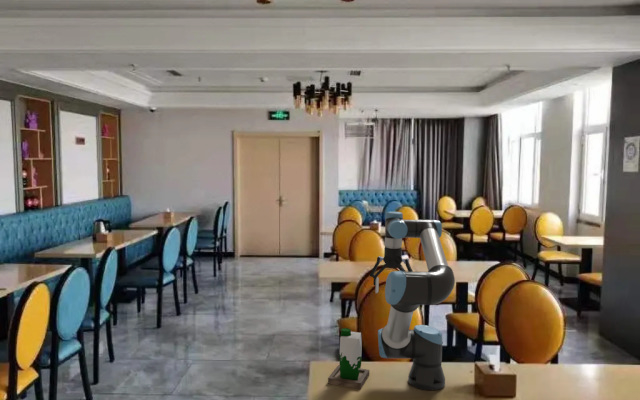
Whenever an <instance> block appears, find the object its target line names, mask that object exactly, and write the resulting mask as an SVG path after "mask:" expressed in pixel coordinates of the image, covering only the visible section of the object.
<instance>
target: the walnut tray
mask: <svg viewBox="0 0 640 400" xmlns="http://www.w3.org/2000/svg"><path fill="white" fill-rule="evenodd" d="M369 376H370V369H367V368H362V367H361V368H360V372H359V376H358V380H348V379H342V378H340V364H338V365H337V366H336V367H335V368H334V370H333V371H332V372H331V374H329V376H328V377H327V384H328V385H333V386H338V387H339V386H340V387H346V388H351V389H357V390H361V389H362V388H363V386H364V385H365V383H366V381H367V380H368V379H369Z"/></svg>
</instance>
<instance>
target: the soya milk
mask: <svg viewBox="0 0 640 400" xmlns="http://www.w3.org/2000/svg"><path fill="white" fill-rule="evenodd" d="M362 341H363V340H362V332H356V331H352V330H351V328H348V327H344V328H341V329H340V339H339V365H340V378H342V379H348V380H358V376H359V372H360V368H361V369H362V351H363V350H362V344H363V343H362Z"/></svg>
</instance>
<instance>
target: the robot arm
mask: <svg viewBox="0 0 640 400" xmlns="http://www.w3.org/2000/svg"><path fill="white" fill-rule="evenodd" d="M384 221H385V222H384V223H385V226H384V229H385V230H384V234H385V235H384V254H383V255H384V256H380V255H379V256H377V258H376V262H375V264H374V266H373V267H372V269H371V270H370V272H369V277H370V278H371V277H372V278H373V283H372V284H373V286H375V289H374V290H375V292H374V293H375V294H378V293H379V287H380V286H379V285H380V284H379V281H380V278H379V275H380V274H381V273H382V272H383V271H384V270H385V269H386V268H389V269H392V268H393V269H398V270H397V271H394V270H393V271H391V272H389V273H388V274H387V277H386V281H385V286H384V297H385V301H386V303H387V304H388V305H390V309H389V313H388V314H389V315H388V319H387V324H386V325H385V326H384V327H382V328H380V329H378V330H377V340H378V354H379V356H380V357H381V358H382V359H388V360H389V359H409V360H410V359H412V365H411V368H410V369H409V373H408V379H407V382H408V383H409V385H411V386H412V387H414V388H417V389H418V390H423V391H436V390H441V389H443V388H444V387H445V386H446V377H445V374H444V371H443V370H444V369H443V367H442V364H443V363H442V360H443V343H444V341H443V333H442V332H441V330H439V329H438V328H435V327H433V326H430V325H426V324H418V325H417V324H416V325H414V327H413V329H410V327H411V322H412V318H413V315H414V312H415V311H416V310H418V308H419V307H420V305H421V306H434V305H438V304H441V303H442V302H444V301H445V300H447V299H448V297H450V295H451V293H452V292H453V290H454V287H455V281H456V279H455V274H454V272H453V271H454V270H453V269H452V267H450V266H449V265H448V261H447V258H446V255H445V252H444V248H443V245H442V242H441V238H442V234H443V227H442V225H443V224H442V223H441V221H440V220H438V219H437V220H436V219H404V217H403V212H400V211H387V212H386V213H385V218H384ZM403 238H404V239H405V238H409V239H411V238H413V239H414V238H415V239H420V243H421V246H422V251H423V255H424V259H425V263H426V267H427V270H428V271H413V268H412V267H411V265H410V259H409V258H408V257H406V258H403V257H402V255H403V254H402V253H403V248H402V246H403ZM382 262H384V265H383V266H382V267H380V268H379V270H378V271H377V269H378V267H379V266H380V263H382ZM402 263H403V264H404V265H405V267H406V269H407V270H405V268H404V267H403V265H402ZM376 271H377V272H376ZM375 272H376V273H375Z"/></svg>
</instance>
